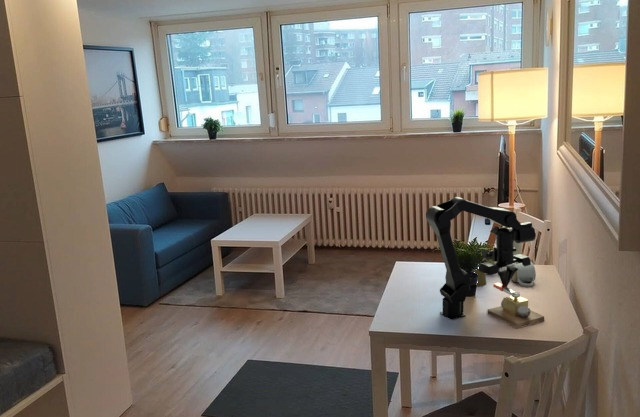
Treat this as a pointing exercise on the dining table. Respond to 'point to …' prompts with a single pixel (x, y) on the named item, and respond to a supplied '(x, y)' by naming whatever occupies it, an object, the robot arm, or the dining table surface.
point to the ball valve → (516, 306)
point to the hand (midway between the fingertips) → (504, 287)
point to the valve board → (515, 321)
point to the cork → (481, 278)
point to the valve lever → (506, 290)
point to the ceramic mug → (524, 274)
